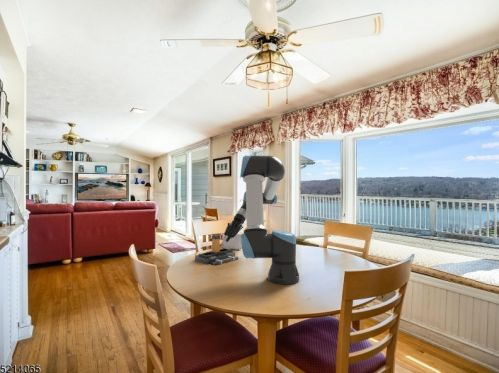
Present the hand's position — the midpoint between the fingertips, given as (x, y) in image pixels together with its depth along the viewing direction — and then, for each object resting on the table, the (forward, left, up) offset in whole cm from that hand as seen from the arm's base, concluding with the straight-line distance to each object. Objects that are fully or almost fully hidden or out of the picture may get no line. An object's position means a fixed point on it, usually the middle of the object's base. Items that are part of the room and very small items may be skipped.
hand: (222, 245), depth 176 cm
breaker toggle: (+5, +3, -4) cm, 7 cm away
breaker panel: (+5, +3, -8) cm, 9 cm away
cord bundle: (+1, +10, -8) cm, 13 cm away
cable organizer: (-14, -21, -8) cm, 27 cm away
